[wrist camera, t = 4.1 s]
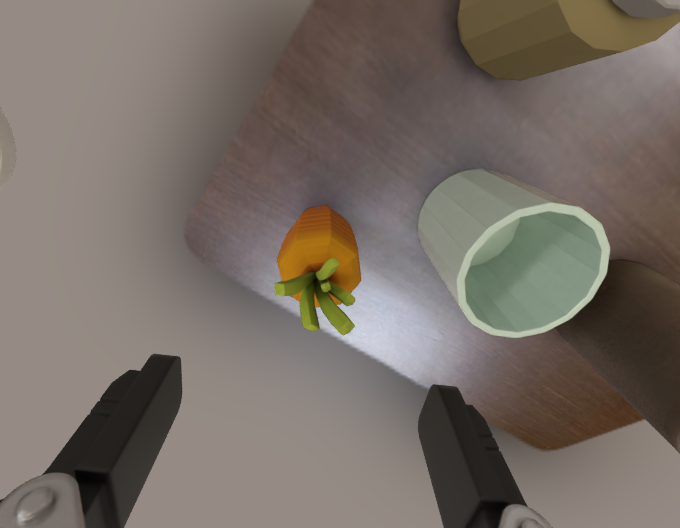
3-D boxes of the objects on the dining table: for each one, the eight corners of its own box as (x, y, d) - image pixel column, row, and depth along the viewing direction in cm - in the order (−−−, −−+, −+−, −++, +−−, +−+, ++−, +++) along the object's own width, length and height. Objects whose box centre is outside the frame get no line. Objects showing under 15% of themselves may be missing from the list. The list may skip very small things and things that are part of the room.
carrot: (280, 204, 28) (238, 302, 15) (332, 173, 27) (339, 249, 14) (311, 251, 30) (301, 377, 17) (361, 224, 29) (392, 334, 16)
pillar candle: (545, 282, 33) (699, 414, 19) (652, 243, 31) (901, 354, 18) (559, 355, 37) (695, 505, 23) (655, 322, 35) (858, 463, 22)
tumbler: (405, 261, 31) (438, 328, 22) (434, 159, 27) (488, 191, 18) (498, 274, 32) (566, 344, 23) (539, 178, 28) (639, 217, 19)
